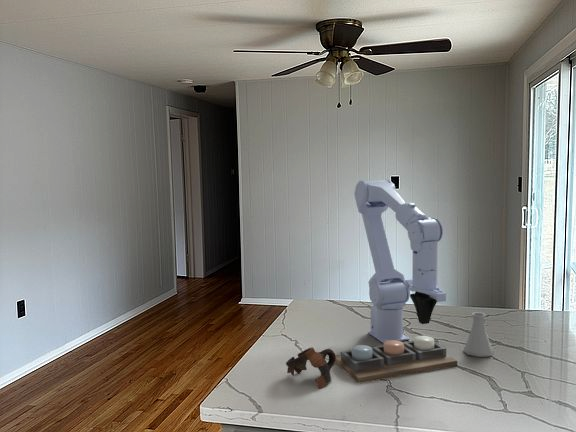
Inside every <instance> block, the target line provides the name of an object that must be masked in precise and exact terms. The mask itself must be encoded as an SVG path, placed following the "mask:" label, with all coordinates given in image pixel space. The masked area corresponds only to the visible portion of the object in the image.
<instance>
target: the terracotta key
mask: <svg viewBox="0 0 576 432" xmlns="http://www.w3.org/2000/svg"><path fill="white" fill-rule="evenodd" d="M403 342H404V341H396V340H389V341H385V342H384V343H383V345H384V353H386V354H387V355H389V356H392V355H399V354H404V343H403Z"/></svg>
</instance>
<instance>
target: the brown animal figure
mask: <svg viewBox="0 0 576 432" xmlns="http://www.w3.org/2000/svg"><path fill="white" fill-rule="evenodd" d="M335 355H336V353H335V352H334V350H332V349H331V348H325V349H323V350H321V351H320V352H318V351H316V350H315V349H314V346H312V347H309V348H306V349H304V350H302V351H301V352H299V353H297V357H296V358H295V356H292V357H291V358H289V359H288V360H287V361H286V362H285V365H286V366H287V370H286V371H287V374H291V375H292V376H295V373H296V374H298V375H299V374H301V373H302V371H306V370H307V363H308V362H309V363H310V365H311V366H312V367H314V368H316V369H318V370H319V373H320V375H319V377H317V378H315V380H314V382H315V384H316V385H317V388H318V389H322V388H324V387H326V386H327V385H328V384H329V383H331V382H332V378H331V369H333V367H334V365H335V364H336V363H335V360H336V356H335ZM327 356H328V361H327V360H326V357H327Z"/></svg>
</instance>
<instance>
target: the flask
mask: <svg viewBox="0 0 576 432" xmlns="http://www.w3.org/2000/svg"><path fill="white" fill-rule="evenodd" d="M471 316H472V325H471V330H470V332H469V335H468V338H467V340H466V342H465V345H464V348H463V350H462V351H463V353H465V354H466V355H468V356H472V357H478V358H480V357H481V358H485V357H492V356H493V354H494V350H493V347H492V345H491V342H490V339H489V336H488V333H487V329H486V326H485V324H486V323H485V317H486V314H485V313H484V312H480V311H479V312H472V314H471Z"/></svg>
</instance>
